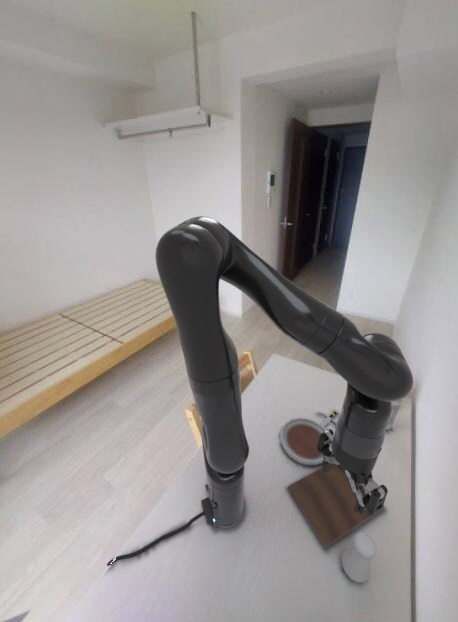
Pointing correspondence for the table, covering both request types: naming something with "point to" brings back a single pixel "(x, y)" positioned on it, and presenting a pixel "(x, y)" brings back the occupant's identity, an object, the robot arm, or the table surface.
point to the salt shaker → (359, 557)
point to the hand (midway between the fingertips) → (342, 489)
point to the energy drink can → (394, 412)
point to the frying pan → (304, 439)
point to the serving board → (328, 504)
